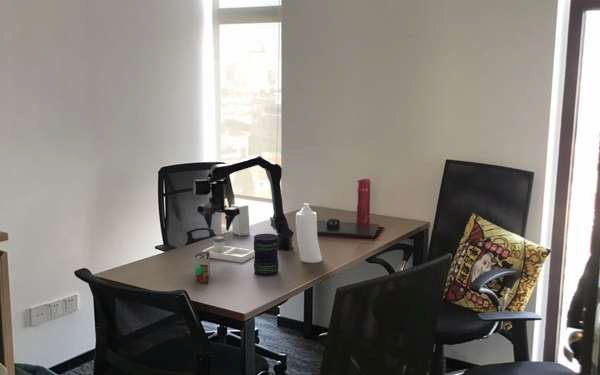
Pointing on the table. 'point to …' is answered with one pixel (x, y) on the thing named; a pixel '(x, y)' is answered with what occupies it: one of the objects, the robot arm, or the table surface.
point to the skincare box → (241, 220)
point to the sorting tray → (232, 254)
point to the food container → (202, 266)
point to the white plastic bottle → (307, 235)
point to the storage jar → (266, 255)
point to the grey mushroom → (219, 244)
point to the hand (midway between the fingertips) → (218, 229)
